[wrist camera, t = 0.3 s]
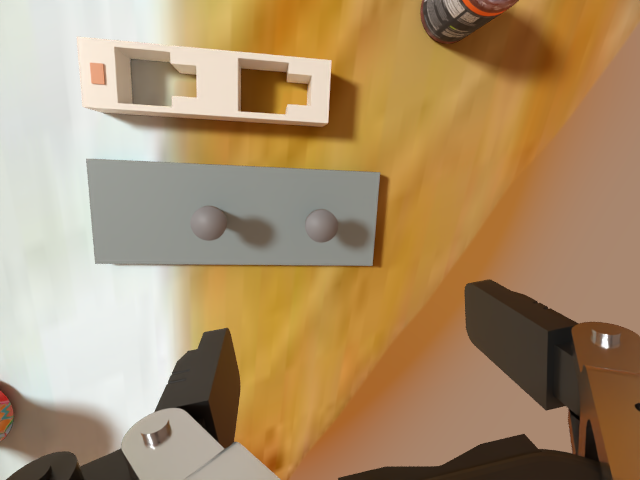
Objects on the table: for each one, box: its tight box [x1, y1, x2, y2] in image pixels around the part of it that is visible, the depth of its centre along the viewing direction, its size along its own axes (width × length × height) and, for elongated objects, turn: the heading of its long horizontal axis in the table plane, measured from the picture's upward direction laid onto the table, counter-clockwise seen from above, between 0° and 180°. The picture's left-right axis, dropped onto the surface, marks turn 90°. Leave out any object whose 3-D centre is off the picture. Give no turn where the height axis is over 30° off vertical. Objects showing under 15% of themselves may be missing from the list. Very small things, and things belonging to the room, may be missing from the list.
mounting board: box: [86, 159, 380, 266], centre depth 34 cm, size 10×28×6 cm, turn 87°
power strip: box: [77, 37, 331, 127], centre depth 32 cm, size 5×21×4 cm, turn 87°
